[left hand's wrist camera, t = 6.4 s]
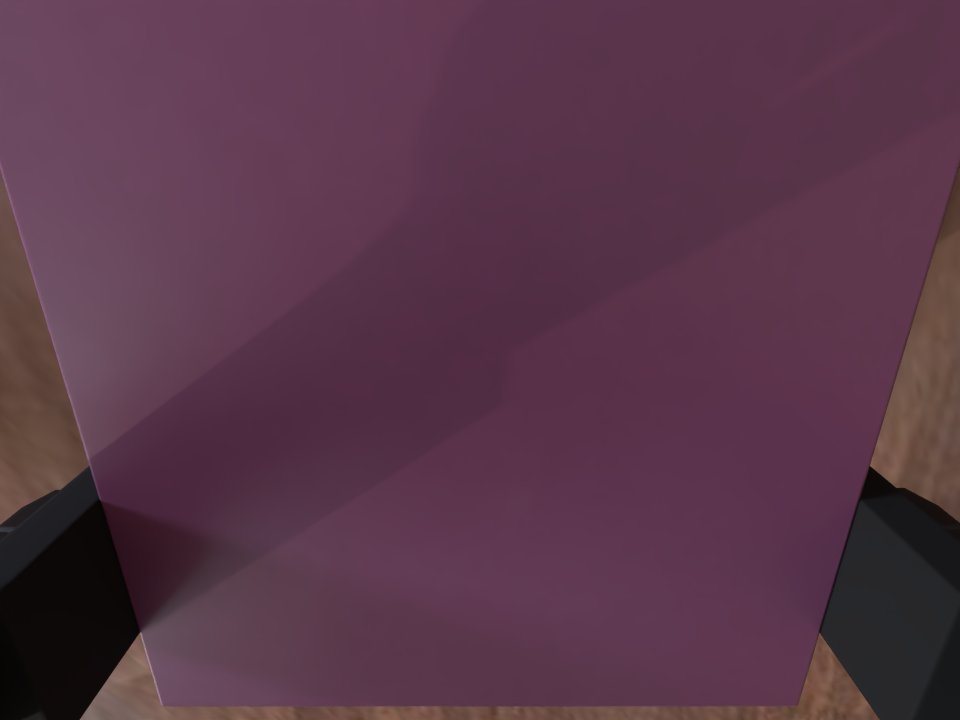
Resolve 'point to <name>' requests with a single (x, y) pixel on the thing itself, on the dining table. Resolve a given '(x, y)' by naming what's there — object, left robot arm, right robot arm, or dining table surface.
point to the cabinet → (479, 327)
